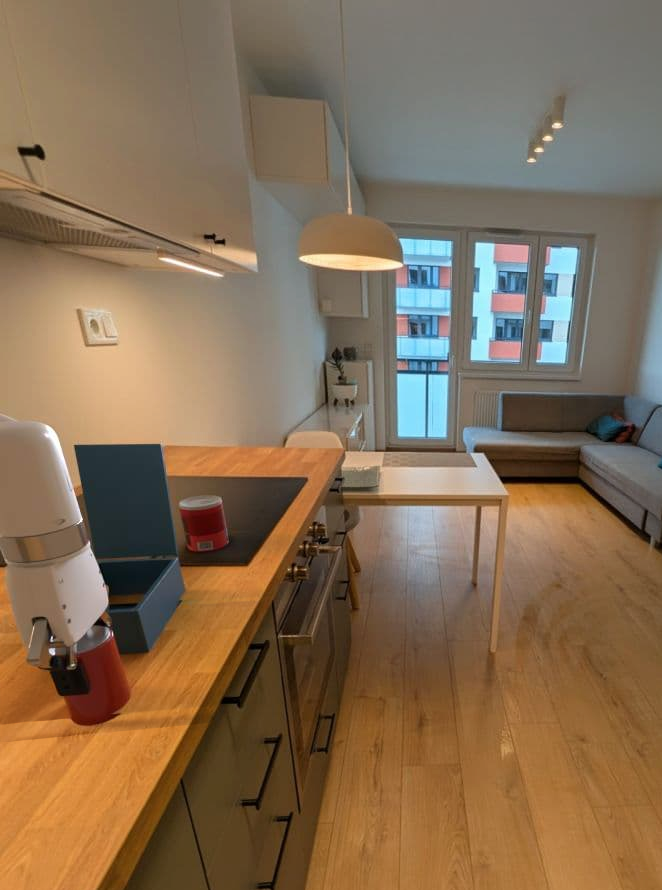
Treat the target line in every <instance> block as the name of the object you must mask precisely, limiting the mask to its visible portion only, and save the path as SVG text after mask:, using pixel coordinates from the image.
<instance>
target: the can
mask: <svg viewBox="0 0 662 890" xmlns="http://www.w3.org/2000/svg"><path fill="white" fill-rule="evenodd" d="M56 641H63V640H62V639H58V638H57V637H56V638H55V639H54V640H53V642H56ZM76 647H77V664H81V663H82V665H83V668H84V671H85V673H86V676H87V679H88V682H89V685H90V688H91V690H90V692H89V693H88V694H85V695H73V696H62V698H63V702H64V703H65V706H66V709H67V712H68V714H69V716H70V719H71V721H72V722H73V723H74V724H76V725H79V726H94V725H99V724H103V723H105V722H108V721H111V720H112V719H115V718H117V717H118V716H120V715H121V714H122V712H119V710H120V709H122V708H123V707H125V706H126V705H127V703H128V702H129V701H130V699H131V697H132V691H131V688H130V684H129V680H128V678H127V674H126V671H125V668H124V664H123V661H122V658H121V655H120V654H119V651H118V648H117V645H116V641H115V638H114V635H113V632H112V630H111V629H109V628H107V627H103V626H91V627H90V629H89V630H88V631H87V632H86V633H85V634H84V635H83V636H82V637H81V638H80V639H79V640H78V641H77V642H76ZM55 656H60V657H63V658H66V656H65V647H62V648H55ZM116 712H117V713H116ZM118 712H119V713H118Z"/></svg>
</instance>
